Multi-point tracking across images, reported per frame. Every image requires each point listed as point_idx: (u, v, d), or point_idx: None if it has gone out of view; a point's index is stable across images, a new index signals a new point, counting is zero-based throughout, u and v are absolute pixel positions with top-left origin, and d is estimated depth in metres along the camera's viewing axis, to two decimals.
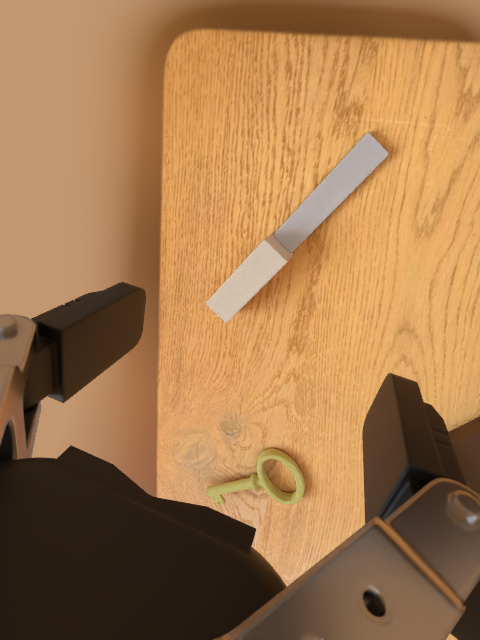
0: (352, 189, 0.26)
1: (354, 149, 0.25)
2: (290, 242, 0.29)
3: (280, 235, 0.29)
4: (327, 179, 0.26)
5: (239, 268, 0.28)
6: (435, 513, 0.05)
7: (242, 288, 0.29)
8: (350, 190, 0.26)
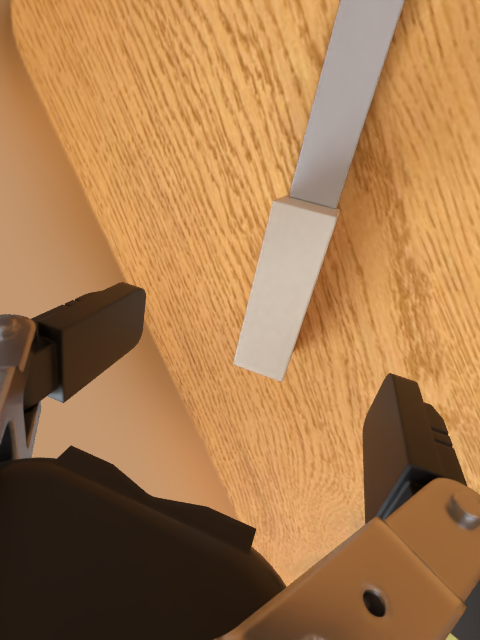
0: (396, 15, 0.12)
1: None
2: (325, 190, 0.15)
3: (301, 188, 0.15)
4: (336, 32, 0.13)
5: (257, 277, 0.15)
6: (435, 513, 0.05)
7: (279, 308, 0.15)
8: (392, 20, 0.12)
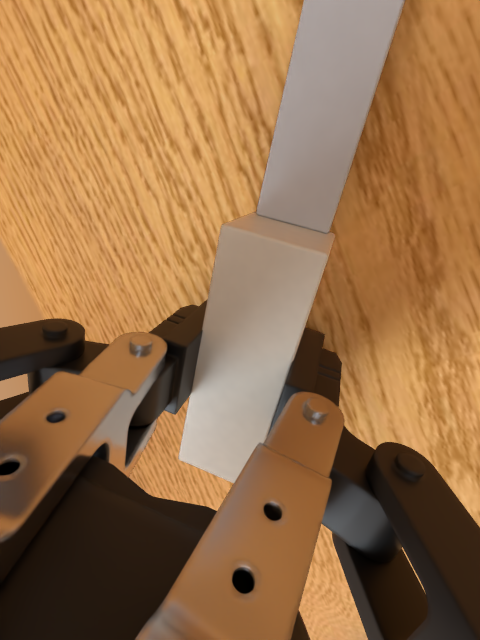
0: None
1: None
2: (310, 205, 0.10)
3: (274, 202, 0.10)
4: None
5: (203, 342, 0.09)
6: (287, 411, 0.07)
7: (240, 389, 0.10)
8: None
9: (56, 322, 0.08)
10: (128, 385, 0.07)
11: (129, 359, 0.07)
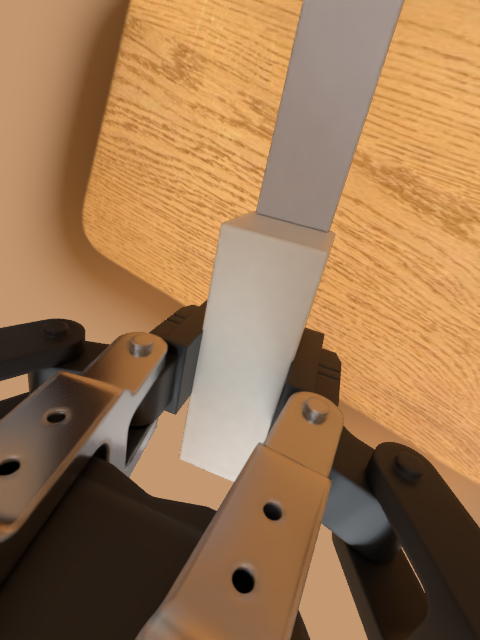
0: None
1: None
2: (310, 204, 0.09)
3: (274, 201, 0.10)
4: None
5: (204, 341, 0.09)
6: (287, 410, 0.07)
7: (241, 388, 0.10)
8: None
9: (57, 322, 0.08)
10: (128, 385, 0.07)
11: (129, 359, 0.07)
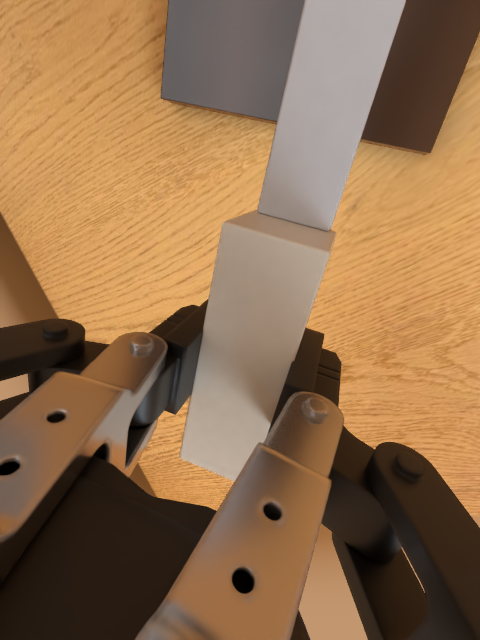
0: None
1: None
2: (312, 203, 0.09)
3: (275, 200, 0.10)
4: None
5: (204, 341, 0.09)
6: (287, 410, 0.07)
7: (241, 387, 0.10)
8: None
9: (57, 322, 0.08)
10: (128, 385, 0.07)
11: (129, 359, 0.07)
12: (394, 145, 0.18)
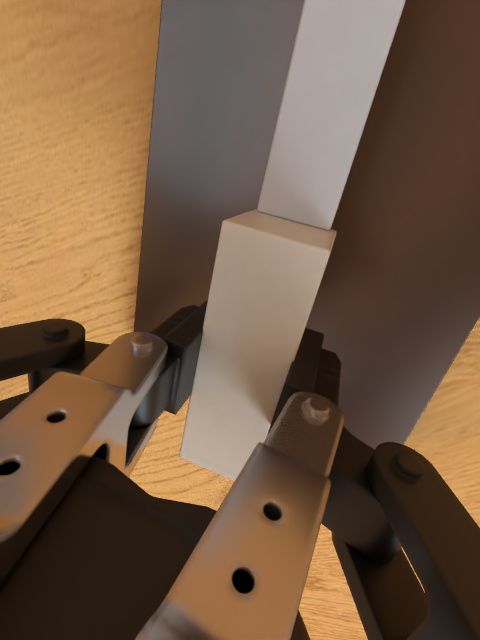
0: None
1: None
2: (312, 202, 0.09)
3: (275, 199, 0.10)
4: None
5: (204, 340, 0.09)
6: (287, 410, 0.07)
7: (241, 386, 0.10)
8: None
9: (56, 322, 0.08)
10: (128, 385, 0.07)
11: (129, 360, 0.07)
12: None
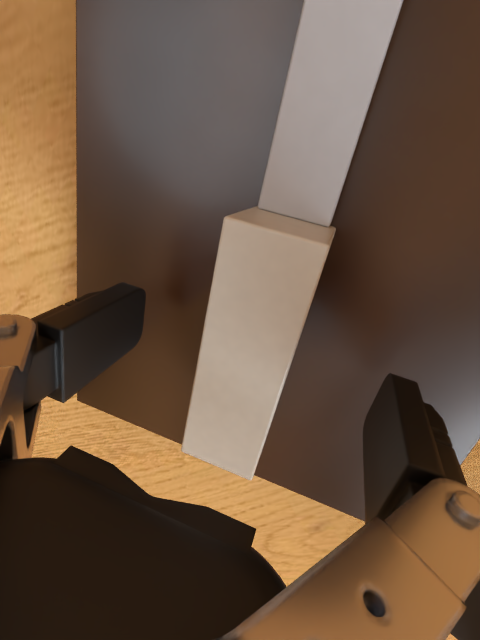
0: None
1: None
2: (311, 199, 0.10)
3: (276, 196, 0.10)
4: None
5: (206, 334, 0.10)
6: (435, 513, 0.05)
7: (242, 380, 0.10)
8: None
9: None
10: None
11: None
12: (361, 518, 0.14)
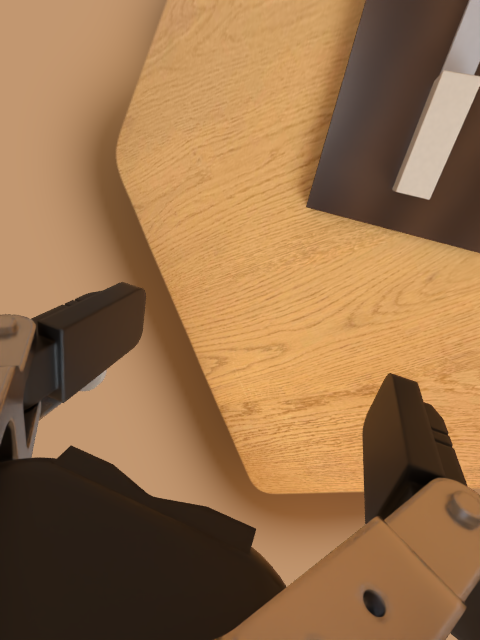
0: None
1: None
2: (464, 72, 0.25)
3: None
4: None
5: (424, 123, 0.25)
6: (435, 513, 0.05)
7: (436, 143, 0.25)
8: None
9: None
10: None
11: None
12: (464, 248, 0.30)
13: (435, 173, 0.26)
